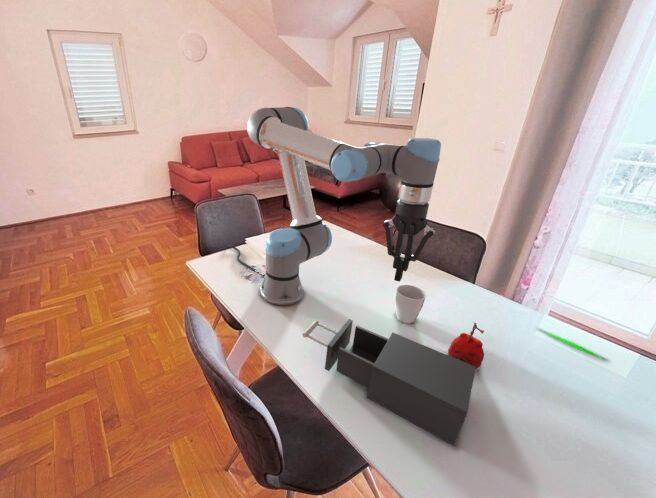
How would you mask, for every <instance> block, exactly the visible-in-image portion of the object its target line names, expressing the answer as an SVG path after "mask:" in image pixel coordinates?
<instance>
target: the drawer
mask: <svg viewBox="0 0 656 498" xmlns="http://www.w3.org/2000/svg"><path fill="white" fill-rule="evenodd" d="M353 322H354V320H353V319H351V318H348V319H347V320H346V321H345V322H344V324H343V325H342V327H340V329H339V330H336V329H334V328H331V327H329V326H327V325H325V324H322V323H320V322H319V320H317V319H315V320H314V321H313V322H312V323H311V324H309V326H308V327H307V328H306V329H305V330H304V331H303V332H302V337H303V338H307V339H310V340H313V341H314V342H316V343H318V344H320V345H321V346H324V347H326V355H325V363H324V370H326V371H327V372H330V371H331V369H332V368H333V366H334V365H335V364H336V371H335V372H337V373H340V374H341V375H343V376H345V377H347V378H349V379H351V380H352V381H354V382H356V383H357V384H358V383H359V384H360V385H361V386H364V387H365V388H367V389H369V385H370V380H371V374H372V369H373V365H374V364H375V362H376V360H377V358H378V357H379V355H380V353H381V351H382V350H383V348H384V346H385V344H386V343H387V341H388V339H389V338H387V337H385V336H383V335H380V334H378V333H376V332H373V331H371V330H369V329H366V328H364V327H362V326H359V325H356V326H355V328H354V335H353V341H352V345H351V347H350V349H349V350H347V349H346V348H347V347H348V346H349V344H350V342H351V335H352V328H353ZM317 326H318V327H320V328H322V329H325V330H327V331H328V332H331V333H333V334H335V335H334V336H333V337H332V339H331V340H330V341H329V343H327V342H325V341H323V340H321V339H319V338H317V337H315V336H312V335H311V333H313V331H314V330H315V329H316V328H317Z"/></svg>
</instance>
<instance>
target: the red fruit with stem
mask: <svg viewBox="0 0 656 498" xmlns="http://www.w3.org/2000/svg"><path fill="white" fill-rule="evenodd" d="M475 330H476V331H479V332H480V333H481V334H484V333H485V330H483V329H480V328H479V327H478V325H477V322H473V326H472V330H470V332H469V333H465V332H462V333H460V334H459V335H458V336H457V337H455V338H454V339H453V340H452V341H451V343H450V345H449V347H448V350H447V355H448V356H451V357H453V358H456V359H458V360H460V361H463V362H465V363H468V364H470V365H472V366H475V367H476V369H475V371H476V370H477V369H479V368H481V366H482V364H483V361H484V358H485V352H484V348H483V342H482V341H481V340H480V339H478V338H476V337H475V336H473V335H474V334H475Z"/></svg>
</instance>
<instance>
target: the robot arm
mask: <svg viewBox="0 0 656 498" xmlns="http://www.w3.org/2000/svg"><path fill="white" fill-rule="evenodd" d="M246 132H247V134H248V135H247V136H248V137H249V139H250V140H251V141H252V142H253V143H254V144H256V145H257V146H259V147H262V148H265V149H272V151H273V152H274V153H275V154H277V156H278V160H279V164H280V169H281V173H282V177H283V181H284V186H285V190H286V195H287V200H288V205H289V209H290V213H291V217H292V219H291V222H290V223H289V227H284V228H283V227H281V228H277V229H275V230H272V231H271V232H270V233H269V234H268V235H267V237H266V240H265V273H263V274H264V275H263V276H262V277H263V279H262V282H261V285H260V296H261V298H262V299H263V300H264V301H266V302H267V303H269V304H272V305H276V306H291V305H294V304H296V303H298V302H299V301H301V300H302V298H303V295H304V287H303V284H302V282H301V277H300V265H301V264H302V263H305V262H307V261H309V260H312V259H313V258H316V257H320V256H321V255H322V254H324V253H325V252H327V251H328V250H329V248H330V247H331V245H332V243H333V242H332V241H333V235H332V231H331V229H330V227H329V226H328V225H327V224H326V223H325V222H323V220H322V217H321V216H320V215H317V212H316V207H315V203H314V199H313V194H312V188H311V185H310V184H311V183H310V179H309V175H308V170H307V166H306V162H308V163H311V164H313V165H315V166H318V167H320V168H323V169H325V170H327V171H330V172H331V173H332V175H333V176H334V177H335V179H336V180H338V181H339V182H342V183H349V182H356V181H359V180H361V179H365V178H368V177H372V176H376V175H379V174H388V175H395V176H400V183H399V188H398V195H397V198H398V200H397V201H396V207H395V211H394V215H393V217H392V218H391V219H386V220H385V221H383V223H382V227H383V228H384V230H385V238H386V239H385V240H386V248H387V249H386V250H387V254H388V256H391V257H393V263H392V269H395V274H394V279H393V280H394V282H395V281H396V282H401V280H402V279H403V275H404V272H407V271H408V269H409V266H410V262H416V261H417V260H418V258H419V256H420V255H421V252H422V251H423V249H424V247H425V246H426V244H427V242H428V241H429V239H431V238H432V237H433V236H434V234H435V233H436V229H435V228H431V227H430V226H429V225H428V221H427V217H428V211H429V207H430V203H429V202H430V201H431V197H432V193H433V189H434V182H435V178H436V174H437V170H438V165H439V162H440V160H441V159H440V157H441V149H442V143H441V141H440V140H439V139H436V138H428V137H426V138H425V137H424V138H423V137H413V138H412V137H411V138H409V139H408V140H407V143H406V145H399V144H390V143H383V142H367V143H365V144H364V145H363V146H361V147H357V146H354V145H350V144H348V143H345V142H342V141H338V140H336V139H332V138H329V137H327V136H324V135H320V134H317V133H314V132H312V131H309V121H308V117H307V116H306V114H305V113H304V111H303V110H301V109H300V108H298V107H292V106H283V107H280V106H279V107H262V108H259V109H257V110H255V111H253V112H252V113H251V115H249V118H248V120H247V125H246ZM393 227H395V229H396V231H397V239H396V245H395V241H394V229H393ZM423 230H424V231H423ZM422 231H423V236H422V238H421V240H420V241H419V244H418V245H417V248H416V249H415V251H414V253H413V248H414V243H415V239H416V238H415V237H416V235H418V234H419V233H421V232H422ZM406 235H407V242H406V245H405V246H406V247H405V251H404V256H402V251H403V245H404V242H405V236H406ZM226 248H227V249H229V248H232V249H234V250H235V251H237V253H238V254H237V256H236V261H237V262H238V263H239V264H241V265H242V266H244V267H246V268H248V269H250V270H251V271H253V270H257V269H256V268H254V267H252V266H250V265H249V264H247V263H245V262H244V261H242V260H240V256H241V250H240V249H239V248H238V247H236V246H234V245H231V244H230V245H227V247H226ZM412 253H413V254H412ZM251 267H252V268H251Z"/></svg>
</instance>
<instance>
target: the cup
mask: <svg viewBox="0 0 656 498" xmlns="http://www.w3.org/2000/svg"><path fill="white" fill-rule="evenodd" d="M426 298H427V294H426V292H425V291H424V290H423V289H422V288H420V287H418V286H415V285H411V284H401V285H399V286H397V288H396V294H395V314H396V318H397V320H398V321H400V322H401V323H403V324H412V323H414V322H415V321H416V319H417V318H418V317H419V314H420V313H421V310H422V309H423V306H424V303H425V300H426Z"/></svg>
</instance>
